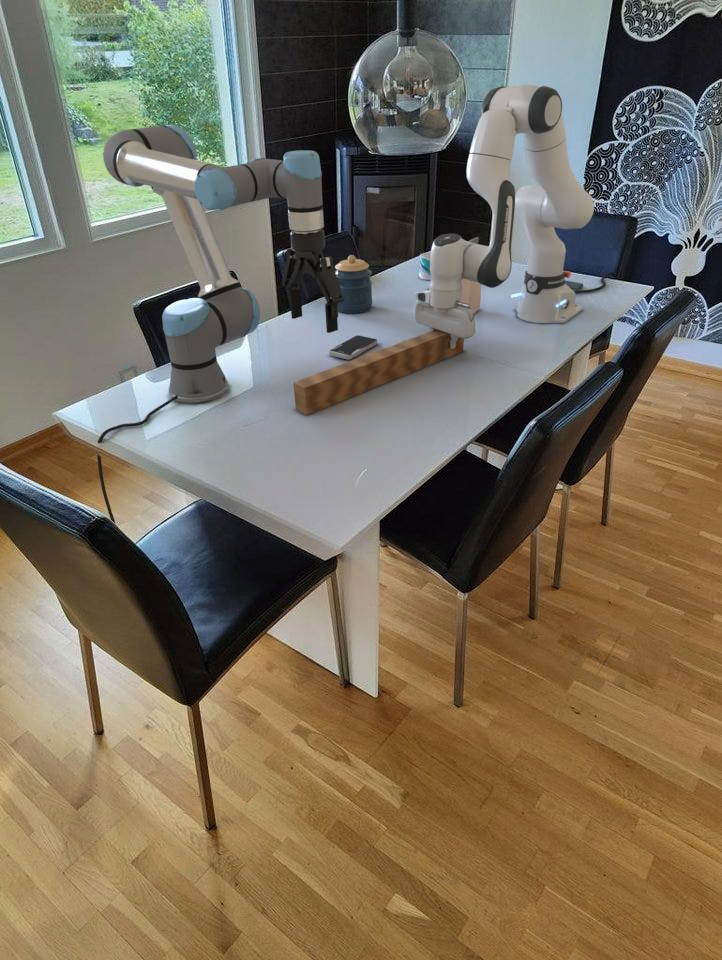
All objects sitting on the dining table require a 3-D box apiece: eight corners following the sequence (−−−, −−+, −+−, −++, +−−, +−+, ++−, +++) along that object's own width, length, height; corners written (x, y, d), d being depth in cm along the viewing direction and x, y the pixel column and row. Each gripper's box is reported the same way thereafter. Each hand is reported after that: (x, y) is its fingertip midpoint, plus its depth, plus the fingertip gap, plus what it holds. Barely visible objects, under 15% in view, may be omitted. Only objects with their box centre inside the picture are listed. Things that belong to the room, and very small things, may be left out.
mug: (415, 278, 257) (415, 256, 252) (430, 270, 265) (430, 248, 261) (434, 281, 253) (435, 258, 248) (448, 272, 261) (449, 250, 257)
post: (306, 415, 164) (304, 388, 160) (295, 409, 167) (293, 382, 163) (463, 351, 195) (464, 327, 191) (451, 347, 198) (452, 323, 194)
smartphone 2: (577, 289, 235) (536, 281, 242) (576, 293, 236) (535, 286, 243) (584, 283, 240) (544, 276, 247) (583, 287, 241) (543, 280, 248)
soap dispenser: (469, 317, 218) (472, 247, 206) (445, 313, 222) (447, 244, 210) (485, 305, 227) (489, 238, 215) (462, 302, 231) (465, 236, 219)
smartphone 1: (378, 339, 201) (349, 356, 191) (378, 343, 202) (349, 360, 191) (357, 335, 205) (327, 351, 195) (357, 339, 206) (328, 355, 195)
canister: (340, 315, 224) (337, 262, 214) (330, 304, 234) (327, 252, 224) (377, 311, 226) (376, 257, 217) (366, 299, 237) (364, 248, 227)
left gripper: (357, 235, 140) (361, 333, 151) (287, 219, 156) (295, 308, 168) (329, 242, 136) (335, 341, 147) (260, 224, 152) (270, 315, 164)
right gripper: (482, 302, 179) (478, 351, 186) (427, 287, 192) (426, 333, 200) (466, 308, 175) (463, 358, 183) (411, 292, 189) (411, 339, 196)
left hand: (314, 324), depth 158 cm, fingers open, 13 cm apart
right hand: (443, 345), depth 191 cm, fingers closed on post, 5 cm apart
